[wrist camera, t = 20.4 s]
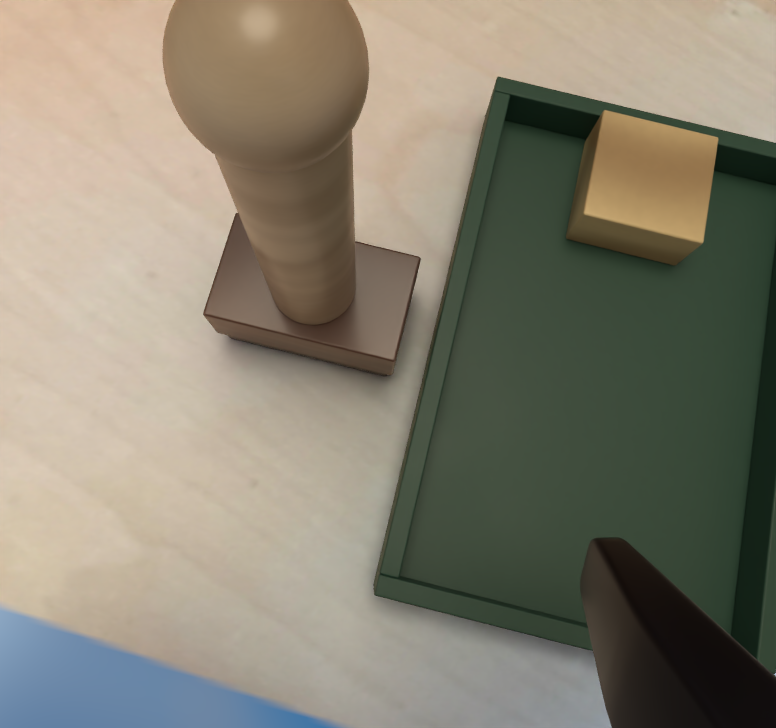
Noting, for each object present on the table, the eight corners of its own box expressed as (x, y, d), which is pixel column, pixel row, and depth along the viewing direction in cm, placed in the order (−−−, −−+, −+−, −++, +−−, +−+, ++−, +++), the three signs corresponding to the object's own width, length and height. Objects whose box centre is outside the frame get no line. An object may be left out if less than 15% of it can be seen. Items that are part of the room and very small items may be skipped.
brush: (390, 382, 23) (439, 154, 8) (222, 340, 23) (-8, 47, 9) (414, 289, 23) (493, -62, 9) (251, 249, 24) (83, -158, 9)
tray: (730, 678, 21) (774, 697, 19) (372, 586, 21) (373, 595, 19) (785, 187, 25) (827, 154, 23) (485, 114, 25) (497, 75, 23)
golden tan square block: (675, 266, 23) (704, 243, 21) (564, 239, 23) (583, 213, 21) (690, 167, 24) (719, 136, 22) (584, 141, 24) (603, 108, 22)
